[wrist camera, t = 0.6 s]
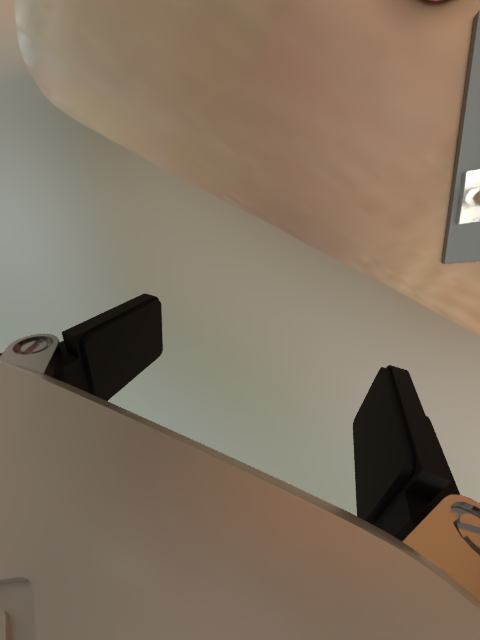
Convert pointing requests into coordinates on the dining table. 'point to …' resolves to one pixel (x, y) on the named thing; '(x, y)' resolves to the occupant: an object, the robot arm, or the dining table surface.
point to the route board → (466, 162)
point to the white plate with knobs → (469, 198)
